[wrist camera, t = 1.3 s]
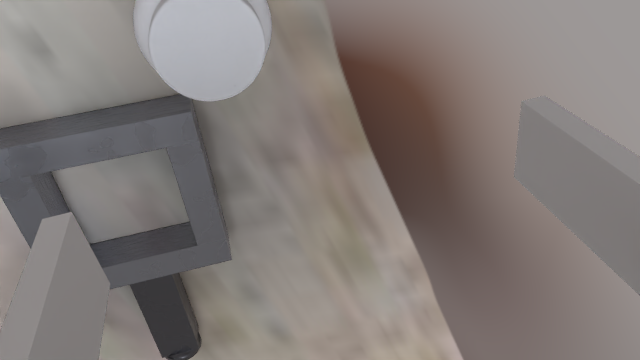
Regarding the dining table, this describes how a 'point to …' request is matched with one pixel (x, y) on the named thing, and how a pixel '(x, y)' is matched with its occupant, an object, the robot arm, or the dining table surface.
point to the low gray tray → (140, 249)
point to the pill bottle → (204, 43)
